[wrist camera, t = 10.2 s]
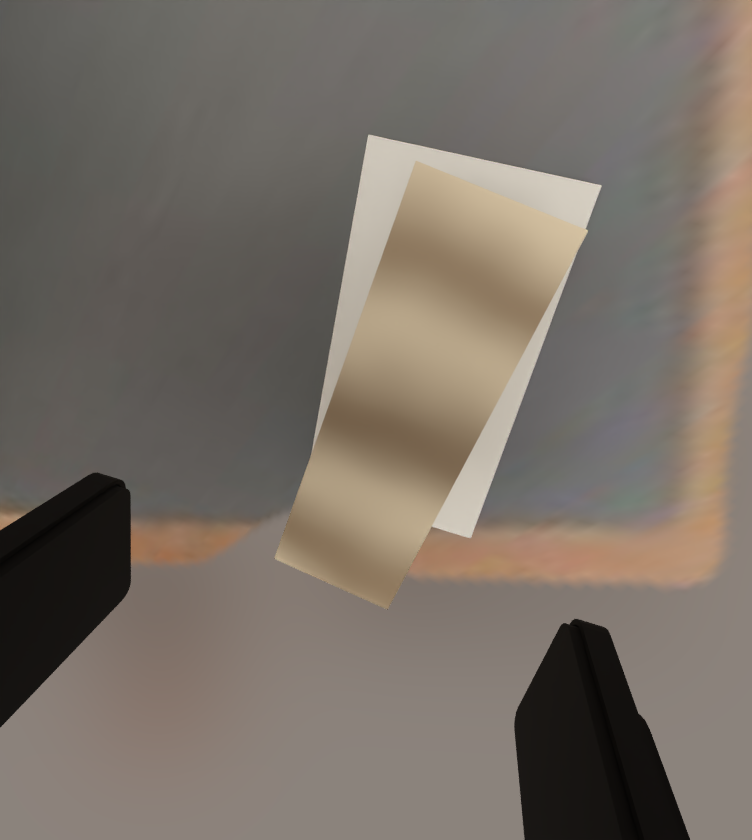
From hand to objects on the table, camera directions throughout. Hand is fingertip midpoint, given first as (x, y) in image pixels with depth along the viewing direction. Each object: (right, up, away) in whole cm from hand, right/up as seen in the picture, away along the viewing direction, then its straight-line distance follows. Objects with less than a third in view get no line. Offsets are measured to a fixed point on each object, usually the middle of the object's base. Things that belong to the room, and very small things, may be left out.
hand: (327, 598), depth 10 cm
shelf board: (+2, +4, +12) cm, 13 cm away
